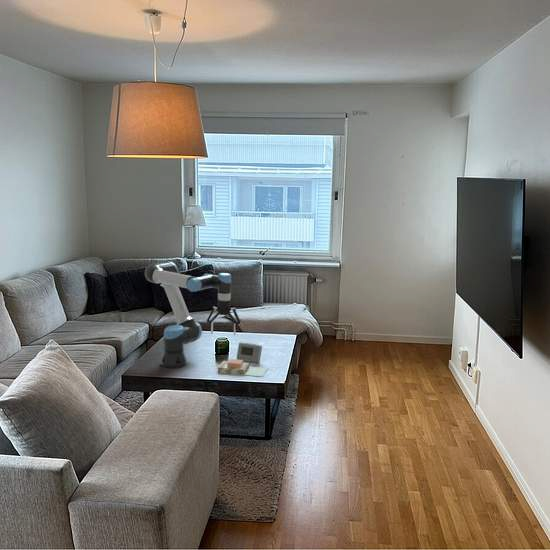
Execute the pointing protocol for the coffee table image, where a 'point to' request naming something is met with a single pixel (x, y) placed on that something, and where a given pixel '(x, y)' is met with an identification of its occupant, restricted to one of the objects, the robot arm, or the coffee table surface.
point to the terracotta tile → (235, 363)
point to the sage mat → (256, 371)
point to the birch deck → (233, 368)
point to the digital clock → (249, 352)
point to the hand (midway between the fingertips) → (223, 334)
